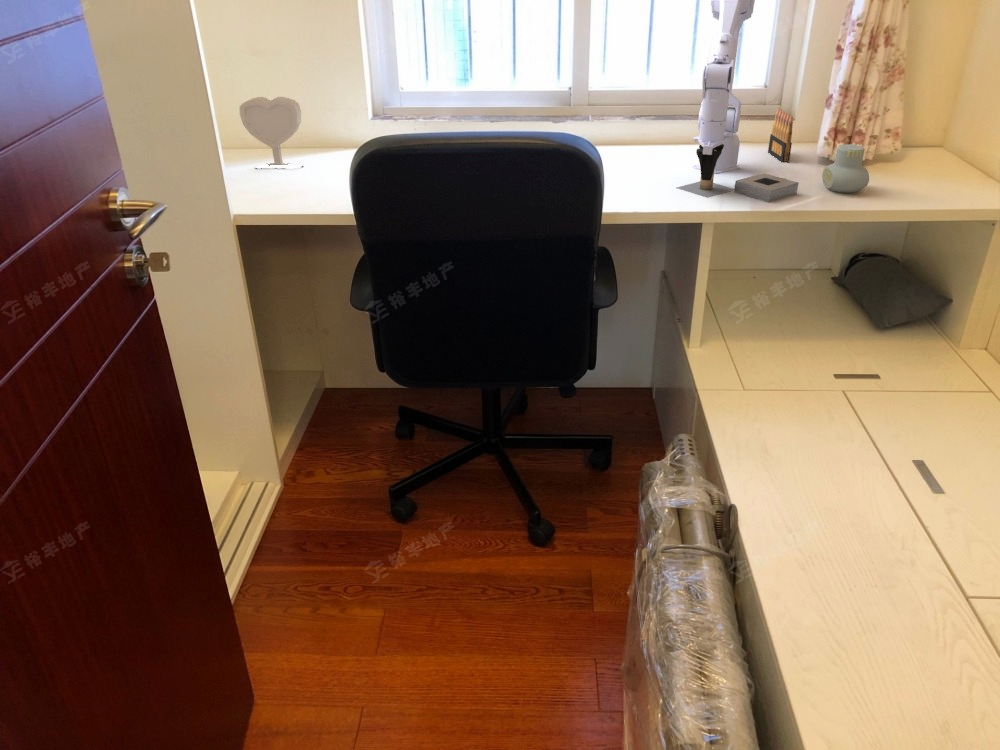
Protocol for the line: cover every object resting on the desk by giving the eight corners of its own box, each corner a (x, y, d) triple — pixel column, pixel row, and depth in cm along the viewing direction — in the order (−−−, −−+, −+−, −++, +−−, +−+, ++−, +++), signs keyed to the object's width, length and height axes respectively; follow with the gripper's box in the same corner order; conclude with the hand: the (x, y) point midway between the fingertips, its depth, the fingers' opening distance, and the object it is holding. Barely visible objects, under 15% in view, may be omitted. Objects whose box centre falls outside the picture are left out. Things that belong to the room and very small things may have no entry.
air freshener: (869, 196, 183) (878, 152, 178) (833, 197, 183) (841, 153, 178) (851, 182, 192) (860, 141, 187) (817, 183, 193) (825, 141, 188)
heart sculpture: (248, 169, 215) (235, 100, 206) (254, 164, 219) (243, 96, 210) (304, 169, 214) (294, 99, 205) (309, 164, 218) (299, 96, 209)
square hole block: (761, 185, 192) (763, 173, 190) (796, 195, 185) (798, 182, 183) (733, 193, 187) (735, 180, 186) (768, 203, 180) (770, 190, 178)
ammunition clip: (767, 152, 218) (774, 107, 212) (774, 152, 218) (780, 107, 212) (782, 162, 209) (789, 116, 203) (789, 162, 209) (796, 115, 203)
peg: (705, 185, 192) (709, 148, 187) (715, 188, 189) (719, 150, 185) (696, 188, 190) (700, 150, 186) (706, 191, 188) (710, 153, 183)
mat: (704, 181, 196) (704, 180, 196) (736, 190, 189) (736, 189, 189) (675, 188, 191) (675, 187, 191) (707, 198, 184) (707, 197, 184)
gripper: (699, 111, 189) (693, 168, 196) (691, 125, 177) (685, 185, 184) (730, 113, 187) (723, 170, 193) (724, 126, 175) (717, 187, 182)
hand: (707, 177), depth 188 cm, fingers closed on peg, 3 cm apart
